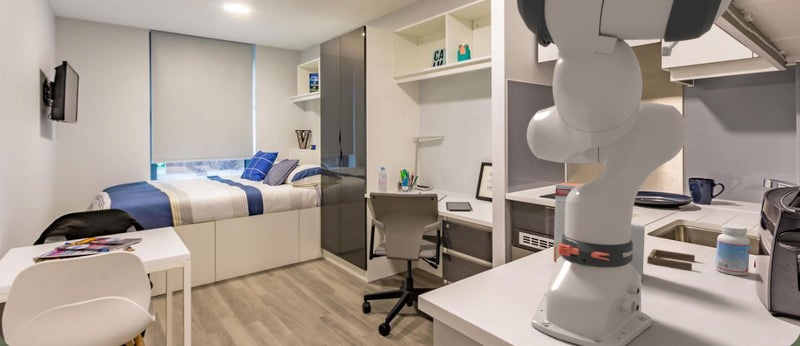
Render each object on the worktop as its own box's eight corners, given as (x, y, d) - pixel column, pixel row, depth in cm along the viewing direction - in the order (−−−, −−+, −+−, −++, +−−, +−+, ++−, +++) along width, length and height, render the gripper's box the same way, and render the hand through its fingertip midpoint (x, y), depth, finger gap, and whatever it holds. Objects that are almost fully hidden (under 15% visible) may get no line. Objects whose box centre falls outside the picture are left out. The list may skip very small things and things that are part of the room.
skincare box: (622, 270, 98) (624, 222, 96) (642, 273, 95) (644, 224, 94) (621, 278, 92) (623, 227, 91) (642, 281, 90) (645, 229, 89)
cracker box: (617, 269, 98) (621, 186, 96) (606, 275, 94) (610, 188, 92) (564, 256, 109) (566, 181, 107) (552, 261, 105) (554, 183, 103)
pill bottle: (754, 277, 92) (757, 229, 91) (724, 275, 94) (727, 228, 93) (737, 268, 98) (740, 224, 97) (709, 267, 100) (712, 223, 99)
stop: (691, 270, 97) (691, 264, 97) (647, 263, 103) (647, 257, 103) (694, 261, 104) (694, 255, 104) (653, 254, 110) (653, 248, 110)
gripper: (601, -13, 81) (589, 56, 87) (720, -16, 75) (698, 59, 81) (598, -14, 86) (587, 51, 92) (710, -17, 80) (690, 53, 86)
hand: (640, 55), depth 87 cm, fingers open, 8 cm apart
